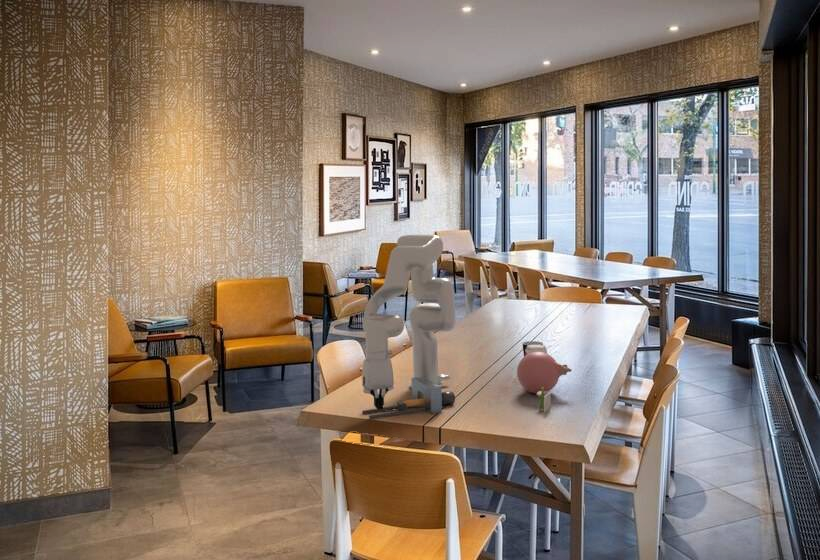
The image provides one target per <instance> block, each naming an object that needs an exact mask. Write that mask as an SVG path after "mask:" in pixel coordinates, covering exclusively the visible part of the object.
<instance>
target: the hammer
mask: <svg viewBox="0 0 820 560" xmlns="http://www.w3.org/2000/svg"><path fill="white" fill-rule="evenodd" d="M455 395H456V394H455V392H454V391H453V390H449V391H443V392H442V406H445V405H453V404H454V403H456V396H455ZM422 405H423V406H425V398H421V399H415V400H412V399H409V400H403V401H397V402H396V406H397V409H396V412H397V411H404V410H407V409H409V407H410V408H416V407H423V406H422ZM415 406H416V407H415Z"/></svg>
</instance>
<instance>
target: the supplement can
mask: <svg viewBox="0 0 820 560" xmlns="http://www.w3.org/2000/svg"><path fill="white" fill-rule="evenodd" d="M532 352H544V353H546V354H548V349H547V348H546V345H545V344H543V345H540V344H532V345H527V348H526V350H525V356H526V355H527V354H529V353H532Z"/></svg>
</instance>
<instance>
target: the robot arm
mask: <svg viewBox="0 0 820 560" xmlns="http://www.w3.org/2000/svg"><path fill="white" fill-rule="evenodd" d="M396 241H397V242H396V246H395V247H394V248H393V249H392V250H391V252H390V255H389V260H388V263H387V268H386V272H385V276H384V277H385V278H384V282H383V285H382V286H380V287H379V288H378V289H377V290H376V291H375V292H374V293H373V295H371V297H370V298H369V299H368V301H367V304H366V305H365V309H364V313H363V318H362V329H363V331H364V333H365V334H364V335H365V356H366V357H365V359H363V364H362V370H361V376H362V377H361V385H362V387H363V390H362V393H364V394H368V395H371V396H373V406H374V407H375V409H378V410H379V409H383V408H384V406H385V397H386V395H387V393H388V392H390V391H393V390H394V389H395V388H394V384H395V383H394V382H395V381H394V370H393V369H394V368H393V364H392V360H391V357H390V355H393V350H390V349H389V338H395V337H396V338H397V337H398V336H400V335H401V334H402V333H403V331H404V329H405V321H404V319H403V318H402V317H401V316H399V315H395V314H383V313H381V314H380V313H378V312H379V311H380V308H381V307H382V306H383V305H384V304H385V303H386V302H389V301H390V300H392V299H395V298H397V297H399V296H401V295H404V294H405V293H406V292H407V290H408V287H409V283H411V294H412V298H413V300H414V301H415V302H418V303H426V304H427V303H428V304H438V305H428V304H427V305H425V304H424V305H423V304H422V305H421V304H420V305H416V306H414V307H413V308H412V309H411V310H410V312H409V323H410V327H411V334H412V363H413V364H412V365H413V378H416V377H423V378H425V379H427V380H429V381H431V382H433V383H435V384H437V385H439V386H441V388H442V387H443V383H442V382H443V381H449V380H451V376H450V374H446V375H445V374H439V348H438V346H439V344H438V342H439V341H438V338H437V336H436V335H435V334H434V332H445V333H447V332H450V331H453V329H454V327H455V324H456V305H455V304H456V303H455V301H456V300H455V289H454V285H453V283H452V281H451V280H450V279H448V278H444V277H435V273H434V266H433V264H434V263H435V262H436V261H437V260H439V258H440V257H441V255H442V253H443V250H444V242H443V240H442V239H441V237H440V236H439V235H434V234H427V235H426V234H406V235H401V236H399V238H398V239H397V240H396ZM410 280H411V281H410ZM409 388H410V389H412V381H411V382H410V383H409ZM378 390H379V391H378Z"/></svg>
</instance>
